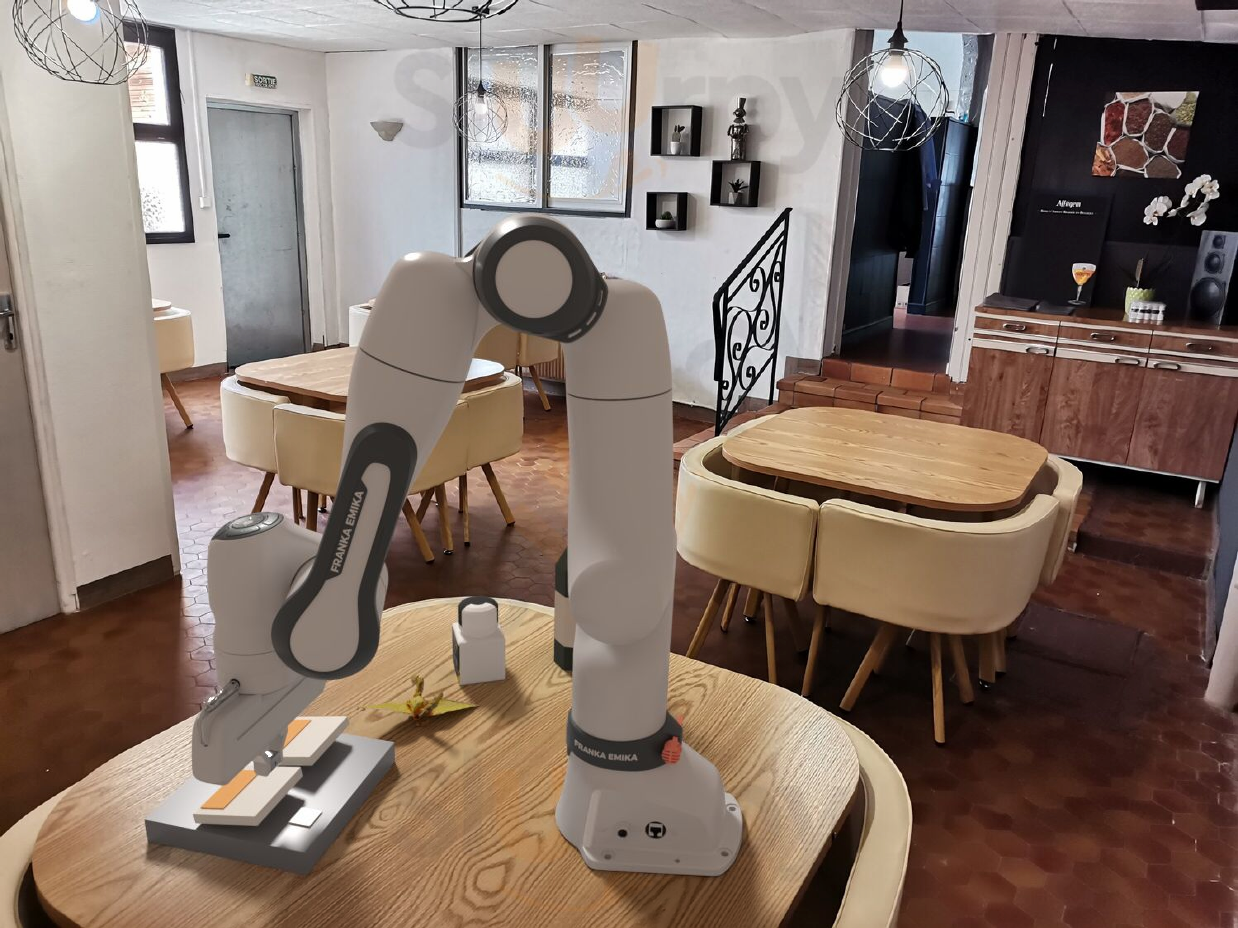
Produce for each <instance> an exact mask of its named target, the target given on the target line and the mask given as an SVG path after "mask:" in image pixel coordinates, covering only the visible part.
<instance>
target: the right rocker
mask: <svg viewBox="0 0 1238 928" xmlns="http://www.w3.org/2000/svg"><path fill="white" fill-rule="evenodd" d="M349 726H350V721H349V717H348V716H346V715H345V716H344V715H343V716H340V715H339V716H338V715H337V716H330V715H329V716H323V715H321V716H297V717H296V718H295V719H294V720H293V721H292V722H291V723H290V724H289V725H288V733H287V736H286V740H285V743H284V747H283V761H282V762H281V763H280V764H279V765H298V766H312V765H313V764H314V763H315V762H316V761H317V760H318V758H319V757H320V756H321V755H322V754H323V753H324V752H325V751H326V750H327V749H328V747H329V746H330V745H331V744H332V743H333V742H334V741H335V740H336V739H337V738H338V737H339V735H340V734H341V733H344V731H345V730H346V729H347V728H348V727H349Z"/></svg>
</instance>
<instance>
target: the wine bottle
mask: <svg viewBox="0 0 1238 928" xmlns="http://www.w3.org/2000/svg"><path fill="white" fill-rule="evenodd" d="M554 567H555V568H554V611H553V612H554V617H553V622H554V623H553V624H554V625H553V627H554V628H553V662H554V663H555V665H557V666H558V667H559V668H560V669H562V670H563V671H567V672H572V673H573V648H574V641H575V632H576V621H575V620H574V618H573V615H572V613H571V609H570V604H569V596H568V545H567V546H566V547H565V549H564V551H563V552H562V554H561V556H560V557H559V558H558V560H557V561H556V563H555V565H554Z"/></svg>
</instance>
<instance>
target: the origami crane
mask: <svg viewBox="0 0 1238 928" xmlns="http://www.w3.org/2000/svg"><path fill="white" fill-rule="evenodd" d="M410 681H411V684H412V685H415V686H416V688H415V690H414V694H413V695H412V696H413V697H412V698H410V699H409V698H408V700H407V701H406V702H397V701H392V702H382V703H378V704H373V705H367V706H364V705H361V706H357V707H356V708H355V710H358V711H359V710H360V709H362V710H360V712H364V711H366V709H367V710H383V711H392V712H396V713H399V714H402V715H404V716H405V715H406V716H408V717H412V718H413V720H414V721H415V720H416V721H415V726H416V727H425V724H426V723H427V722H428V721H429V720H430V718H427V719H426V720H425V722H424V720H423V719H421V716H423V714H424V713H425V712H427V714H426V717H429V716H430V717H431V716H432V717H433V716H438V715H442V714H445V713H447V712H453V711H458V710H462V709H469V708H470V707H473V708H476V707H480V705H479V704H474V703H470V702H464V701H462V700H461V701H457V700H453V699H448V698H444V692H443V691H441V692H439V693H438V695H436V693H434V694H433V695H432V697H433V699H432V698H431V699H425V698H424V697H423V696H422V695H423V692H424V687H425V680H424V677H422V676H421V677H420V675H419V674H418V675H417V674H415V675H413V676H412V677H411V678H410ZM420 719H421V724H420V723H418V720H420Z"/></svg>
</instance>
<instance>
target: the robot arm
mask: <svg viewBox="0 0 1238 928" xmlns="http://www.w3.org/2000/svg"><path fill="white" fill-rule="evenodd" d="M499 325H503V326H505V327H506V328H508V329H511V330H513V331H515V332H518V333H520V334H525V335H528V336H532V337H537V338H543V339H547V340H549V341H550V340H551V341H554V342H557V343H560V347H561V349H562V354H563V359H564V367H565V369H564V371H565V372H564V373H565V392H566V393H565V395H566V412H567V413H566V414H567V430H568V431H567V432H568V435H567V436H568V450H569V451H568V452H569V483H568V505H567V506H568V508H567V509H568V510H567V513H568V514H567V546H568V596H569V604H570V609H571V613H572V615H573V618H574V620H575V621H576V632H575V641H574V648H573V672H572V674H571V675H572V683H571V691H572V692H571V707H570V709H569V710H568V713H567V718H566V726H565V727H566V729H565V743H566V755H567V757H568V758H567V765H566V772H565V777H564V782H563V786H562V790H561V793H560V797H559V799H558V802H557V804H556V807H555V813H554V816H555V822H556V823H555V824H556V826H557V828H558V829H559V831H560V833H561V834H562V835H563V838H564V839H566V840H567V841H568V842H570V844H572V845H574V847H576V848H577V849H578V851H579V852H580V854H581V857H582V859H583V860H584V863H585V864H586V865H587V866H588V867H589V868H590V869H593V870H598V871H612V872H613V871H614V872H615V871H617V872H631V873H633V872H634V873H650V874H651V873H653V874H654V873H655V874H669V875H670V874H671V875H686V876H687V875H688V876H689V875H690V876H704V877H705V876H706V877H707V876H708V877H718V876H721V875H722V874H724V873H725V872H726V871H728V869H730V868H731V866H732V865H733V864H734V862H735V861H736V859H737V857H738V854H739V851H740V848H741V844H742V841H743V840H742V839H743V831H744V829H743V827H744V826H743V824H744V823H743V814H742V809H741V807H740V805H739V803H738V801H737V799H736V798H735V797H734V796H733V794H731V793H729V792H727V791H725V789H724V788H725V787H724V783H723V779H722V776H721V774H720V771H719V769H718V768H717V766H716V765H715V764H713V763H712V762H711V761H710V760H708V759H707V758H705V757H704V756H703V755H701V754H700V753H699V752H697V751H696V750H695V749H694V748H693V747H690V746H689V745H688V744H687V743H685V742H684V740H683V735H684V734H683V731H684V730H683V721H684V718H683V713H682V712H680V714H679V717H678V720H676V718H674V717H673V716H672V715H671V714H670V712H669V711H668V709H667V707H668V706H667V705H668V691H669V675H670V673H669V672H670V659H671V656H670V655H671V643H672V640H671V639H672V627H673V626H672V625H673V614H674V613H673V611H674V597H675V581H676V567H677V550H678V535H677V530H676V526H675V524H674V423H673V420H674V419H673V417H674V415H673V381H672V380H673V379H672V375H673V374H672V363H671V360H672V359H671V351H670V344H669V337H668V333H667V332H668V331H667V326H666V321H665V316H664V312H663V307H662V304H661V302H660V299H659V298H658V296H657V295H656V294H655V292H654V291H653V290H652V289H650V288H649V287H647V286H645V285H643V284H641V283H639V282H636V281H634V280H630V279H629V280H628V279H623V278H622V279H621V278H613V279H608V278H603V276H602V275H601V273H600V271H599V269H598V268H597V266H596V265H595V263H594V262H593V260H592V259H591V256H590V254H589V252H588V251H587V250H586V248H585V246H584V245H583V243H582V242H581V240H579V238H578V237H577V235H576V234H575V233H574V232H573V230H572V229H570V228H569V227H568V226H567V225H566V224H565V223H563V222H562V221H561V220H558V219H557V218H555V217H553V216H550V215H547V214H545V213H544V214H543V213H540V212H539V213H538V212H523V213H518V214H514V215H511V216H508V217H507V218H505V219H503V220H501V221H500V222H497V223H496V224H495V225H494V226H493V227H492V228H491V229H490V230H489V232H488V233H486V235H485V236H484V238H483V239H481V241H479V242H478V243H477V244H476V245H475V246H474V247H473V248H472V249H470V250H469V251H468V252H467V253H466V254H465V255H464V256H463V257H457V256H452V255H450V254H447V253H444V252H443V253H442V252H439V251H431V250H423V251H421V250H420V251H414V252H410V253H407V254H405V255H403V256H401V257H400V258H399V259H398V260H397V261H395V263H394V264H393V266H392V267H391V269H390V271H389V272H388V275H386V278H385V279H384V282H383V283H382V285H381V287H380V290H379V292H378V293H377V295H376V297H375V300H374V302H373V305H372V307H371V309H370V311H369V314H368V316H367V318H366V322H365V325H364V327H363V330H362V332H361V336H360V338H359V341H358V345H357V348H356V352H355V355H354V359H353V362H352V368H351V373H350V379H349V383H348V389H347V395H346V396H347V398H346V405H345V406H346V409H345V416H344V417H345V418H344V419H345V420H344V427H343V428H344V429H343V443H342V452H341V453H342V454H341V463H340V470H339V471H340V472H339V476H338V483H337V488H336V490H335V491H336V492H335V495H334V498H333V501H332V505H331V508H330V511H329V514H328V517H327V521H326V524H325V526H324V531H323V532H322V533H321V532H316V531H314V530H311V529H308V528H305V527H303V526H301V525H299V524H297V523H295V522H294V521H292V520H291V519H290V518H289V517H288V516H286V515H285V514H282V513H280V512H274V511H273V512H270V511H258V512H253V513H250V514H245V515H241V516H239V517H237V518H235V519H232V520H230V521H227V522H226V523H225V524H223V525H222V526H221V527H220V528H219V529H217V531H216V532H215V534H214V535H212V537H211V539H210V541H209V545H208V549H207V561H206V570H207V571H206V576H207V577H206V578H207V579H206V580H207V591H208V592H207V594H208V595H207V596H208V605H209V608H210V610H211V613H212V615H213V617H214V629H213V634H212V644H213V645H212V646H213V653H214V654H213V655H214V664H215V665H214V666H215V674H216V681H217V684H218V685H219V686H220V687H221V688H220V690H218V692H217V693H216V694H214V695H212V696H210V697H209V698H208V699H207V700H206V701H205V702H204V703H203V705H202V706H203V708H202V709H201V710H200V712H199V713H198V714H197V715H196V718H195V720H194V722H193V726H192V734H191V768H192V772H191V773H192V776H194V777H195V778H196V779H198V780H199V781H201V782H205V783H209V784H215V785H221V786H224V785H227V784H228V783H230V782H231V781H232V780H233V779H234V778H235V777H236V776H237V775H238V774H239V773H240V772H241V771H242V770H243V769H244V768H245V767H246V766H247V765H248V764H249V763H250V762H251V761H253V763H254V772H255V774H257V775H259V776H264V777H267V776H268V775H269V774H270V773H271V772H272V771H273V770H274V769H275V768H276V767H277V766H278V765H279V764H280V763H281V762H282V761H283V747H284V743H285V740H286V736H287V733H288V725H289V724H290V723H291V722H292V721H293V720H294V719H295V718H296V717H299V716H300V715H301V714H302V713H303V712H304V711H305V710H306V709H307V708H308V707H309V706H310V705H311V704H312V703H313V702H314V701H316V699H317V698H318V697H320V695H322V693H323V692H324V691H325V688H326V685H327V681H336V680H341V679H346V678H349V677H352V676H354V675H356V674H357V673H359V672H361V671H362V670H365V668H366V667H367V666H368V665H369V664H370V663H371V662H372V660H373V659H374V657H375V655H376V654H377V652H378V648H379V645H380V636H381V622H382V621H381V620H382V617H383V611H384V606H385V601H386V596H387V590H388V585H389V579H390V577H389V576H390V575H389V574H390V573H389V569H388V565H387V563H386V558H387V556H388V552H389V549H390V546H391V543H392V539H393V538H394V537H393V536H394V533H395V530H396V528H397V525H398V521H399V518H400V515H401V512H402V510H403V507H404V505H405V502H406V500H407V498H408V496H409V493H411V490H412V488H413V486H414V484H415V483H416V480H417V479H418V477H419V475H420V474H421V471H422V469H424V466H425V465H426V463H427V461H428V459H429V457H430V456H431V454H432V452H433V450H434V449H435V447H436V445H437V443H438V441H439V440H440V438H441V436H442V434H443V433H444V431H445V429H446V428H447V426H448V423H449V421H450V420H451V417H452V416H453V413H454V411H455V409H456V407H457V405H458V402H459V399H460V397H461V396H462V393H463V390H464V387H465V383H466V380H467V378H468V375H469V372H470V369H471V365H472V362H473V359H474V356H475V354H476V351H477V349H478V347H479V345H480V342H482V340H483V337H484V336H485V335H486V334H487V333H488V332H489V331H491V330H492V329H493V328H494V327H497V326H499Z"/></svg>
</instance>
